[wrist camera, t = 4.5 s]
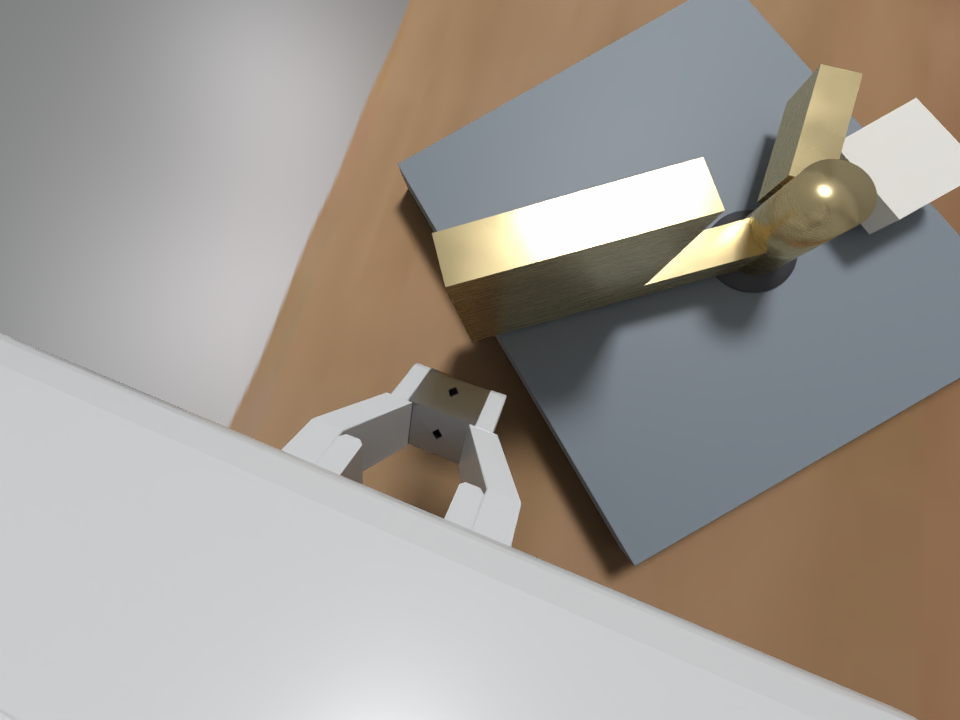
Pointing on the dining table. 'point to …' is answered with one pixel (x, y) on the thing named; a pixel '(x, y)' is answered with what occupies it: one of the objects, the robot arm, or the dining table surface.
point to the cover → (904, 161)
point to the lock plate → (700, 282)
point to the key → (661, 226)
